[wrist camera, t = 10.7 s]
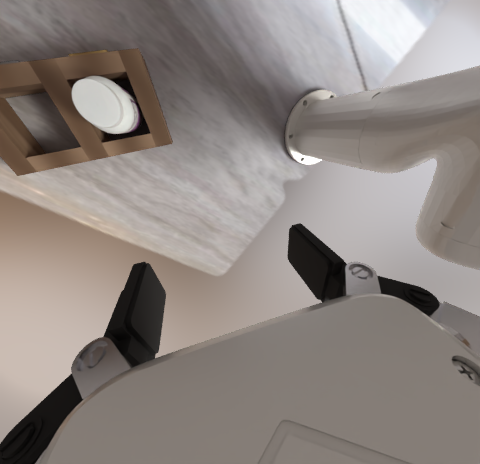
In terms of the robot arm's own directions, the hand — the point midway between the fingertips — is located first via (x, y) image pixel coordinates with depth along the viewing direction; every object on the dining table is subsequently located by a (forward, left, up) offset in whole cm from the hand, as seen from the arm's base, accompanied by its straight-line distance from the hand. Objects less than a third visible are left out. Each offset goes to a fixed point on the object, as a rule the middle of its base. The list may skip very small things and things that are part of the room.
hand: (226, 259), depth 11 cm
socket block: (+12, -11, -25) cm, 30 cm away
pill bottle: (+8, -11, -26) cm, 29 cm away
